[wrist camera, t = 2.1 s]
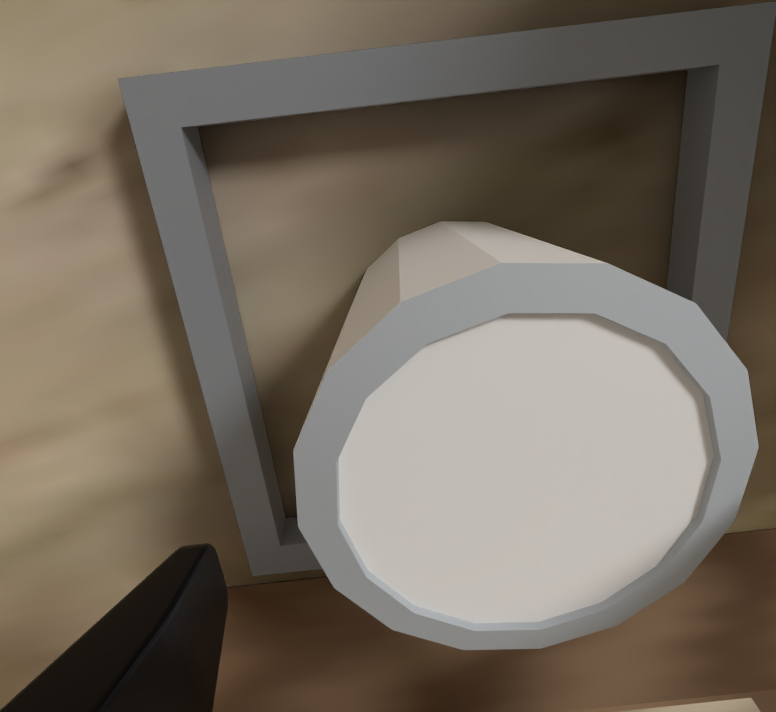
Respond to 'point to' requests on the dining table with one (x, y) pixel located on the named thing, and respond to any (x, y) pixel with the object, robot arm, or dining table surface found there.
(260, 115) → the grey square frame
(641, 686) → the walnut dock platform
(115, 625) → the robot arm
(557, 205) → the dining table surface
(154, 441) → the dining table surface
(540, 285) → the shot glass
